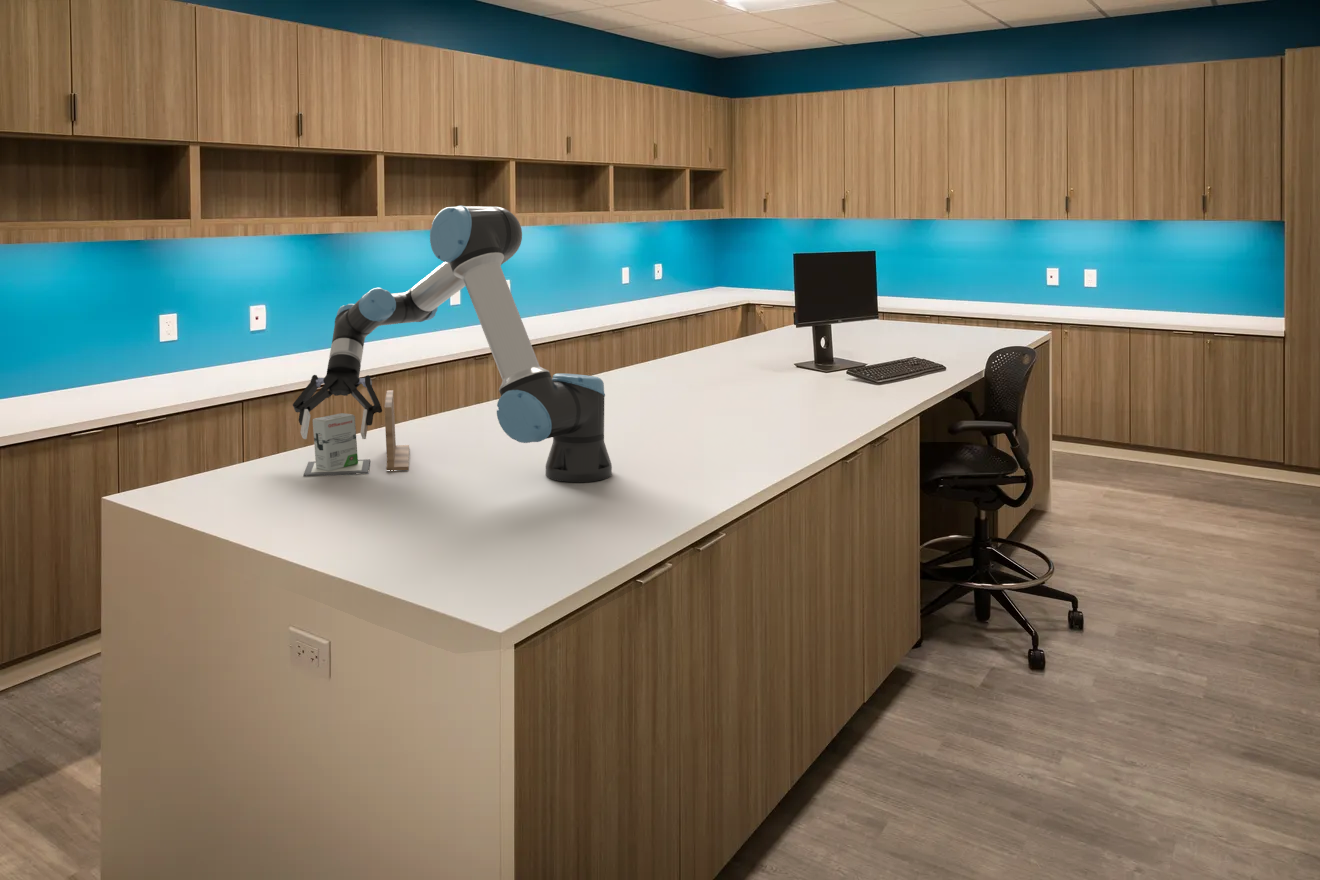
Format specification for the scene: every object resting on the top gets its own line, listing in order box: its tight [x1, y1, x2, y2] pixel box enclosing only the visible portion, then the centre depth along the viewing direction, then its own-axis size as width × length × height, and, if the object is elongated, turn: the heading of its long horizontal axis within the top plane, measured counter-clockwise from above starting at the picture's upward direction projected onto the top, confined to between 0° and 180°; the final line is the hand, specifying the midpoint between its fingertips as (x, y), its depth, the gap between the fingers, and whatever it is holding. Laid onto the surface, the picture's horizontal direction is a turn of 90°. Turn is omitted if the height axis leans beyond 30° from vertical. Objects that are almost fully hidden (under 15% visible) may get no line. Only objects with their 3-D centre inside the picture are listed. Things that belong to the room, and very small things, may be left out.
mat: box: [303, 458, 371, 477], centre depth 241 cm, size 12×14×1 cm
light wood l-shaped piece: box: [383, 389, 410, 472], centre depth 248 cm, size 22×5×15 cm, turn 13°
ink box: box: [312, 412, 359, 471], centre depth 240 cm, size 9×5×12 cm, turn 143°
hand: (333, 436), depth 241 cm, fingers open, 13 cm apart
